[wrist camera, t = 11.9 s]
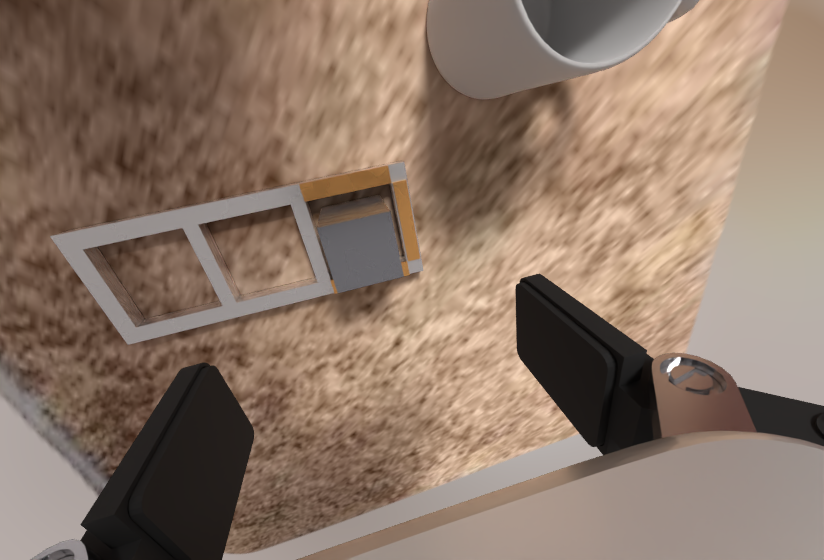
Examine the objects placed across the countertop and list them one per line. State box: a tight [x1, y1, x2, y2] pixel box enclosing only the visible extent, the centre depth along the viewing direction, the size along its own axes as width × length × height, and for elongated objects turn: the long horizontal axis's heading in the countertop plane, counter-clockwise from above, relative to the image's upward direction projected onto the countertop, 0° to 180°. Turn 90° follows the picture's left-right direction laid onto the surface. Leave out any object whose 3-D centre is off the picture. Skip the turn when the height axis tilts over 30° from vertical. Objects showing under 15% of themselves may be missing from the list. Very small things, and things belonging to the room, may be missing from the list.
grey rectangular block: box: [317, 195, 404, 293], centre depth 22 cm, size 4×4×6 cm
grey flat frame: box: [50, 161, 423, 345], centre depth 23 cm, size 9×23×1 cm, turn 100°
